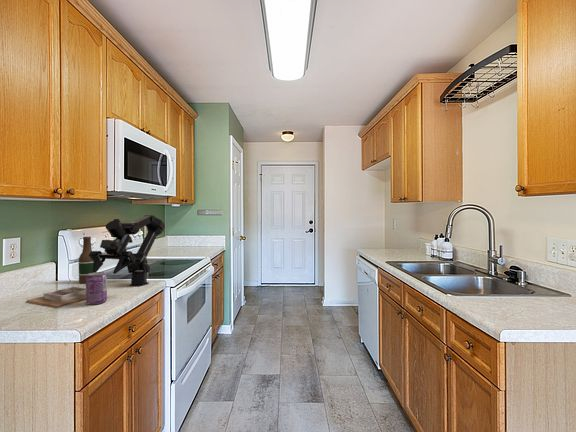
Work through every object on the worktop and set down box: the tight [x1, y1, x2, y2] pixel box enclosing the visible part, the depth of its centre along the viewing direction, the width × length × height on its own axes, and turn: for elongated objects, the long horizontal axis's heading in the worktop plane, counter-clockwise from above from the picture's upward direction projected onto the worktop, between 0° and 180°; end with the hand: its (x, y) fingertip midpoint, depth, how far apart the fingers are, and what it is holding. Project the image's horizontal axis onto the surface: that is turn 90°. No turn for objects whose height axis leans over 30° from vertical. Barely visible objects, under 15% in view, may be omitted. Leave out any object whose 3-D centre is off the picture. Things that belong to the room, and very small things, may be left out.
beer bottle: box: [78, 236, 93, 285], centre depth 159 cm, size 8×8×24 cm
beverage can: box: [85, 271, 108, 306], centre depth 123 cm, size 7×7×12 cm
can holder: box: [25, 286, 86, 309], centre depth 130 cm, size 20×20×3 cm
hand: (103, 273), depth 127 cm, fingers open, 9 cm apart
